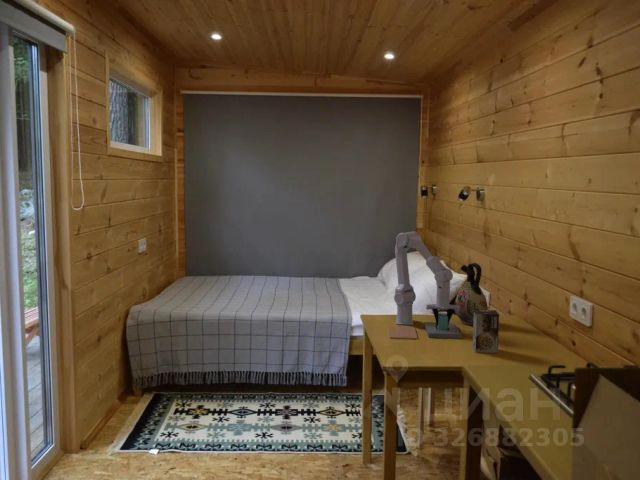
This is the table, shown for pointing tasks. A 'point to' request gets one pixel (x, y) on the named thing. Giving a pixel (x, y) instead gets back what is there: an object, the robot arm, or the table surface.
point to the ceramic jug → (470, 295)
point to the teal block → (442, 321)
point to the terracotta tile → (402, 333)
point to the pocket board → (442, 331)
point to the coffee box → (485, 331)
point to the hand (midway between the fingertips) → (442, 325)
